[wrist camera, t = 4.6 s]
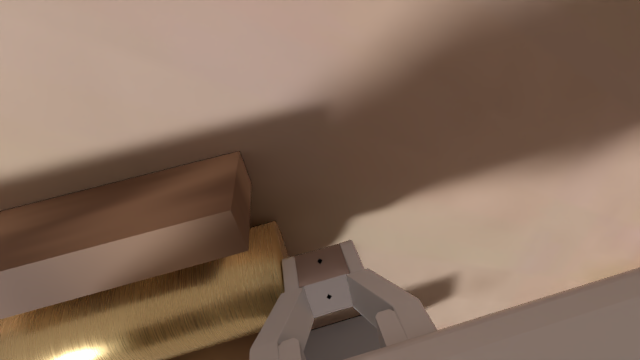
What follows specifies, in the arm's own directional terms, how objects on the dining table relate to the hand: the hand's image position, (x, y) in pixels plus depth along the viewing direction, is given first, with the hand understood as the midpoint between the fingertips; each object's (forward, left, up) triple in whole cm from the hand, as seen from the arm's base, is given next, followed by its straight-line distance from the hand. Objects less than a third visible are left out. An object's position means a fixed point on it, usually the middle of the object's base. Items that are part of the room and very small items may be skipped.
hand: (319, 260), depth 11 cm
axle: (+8, 0, 0) cm, 8 cm away
